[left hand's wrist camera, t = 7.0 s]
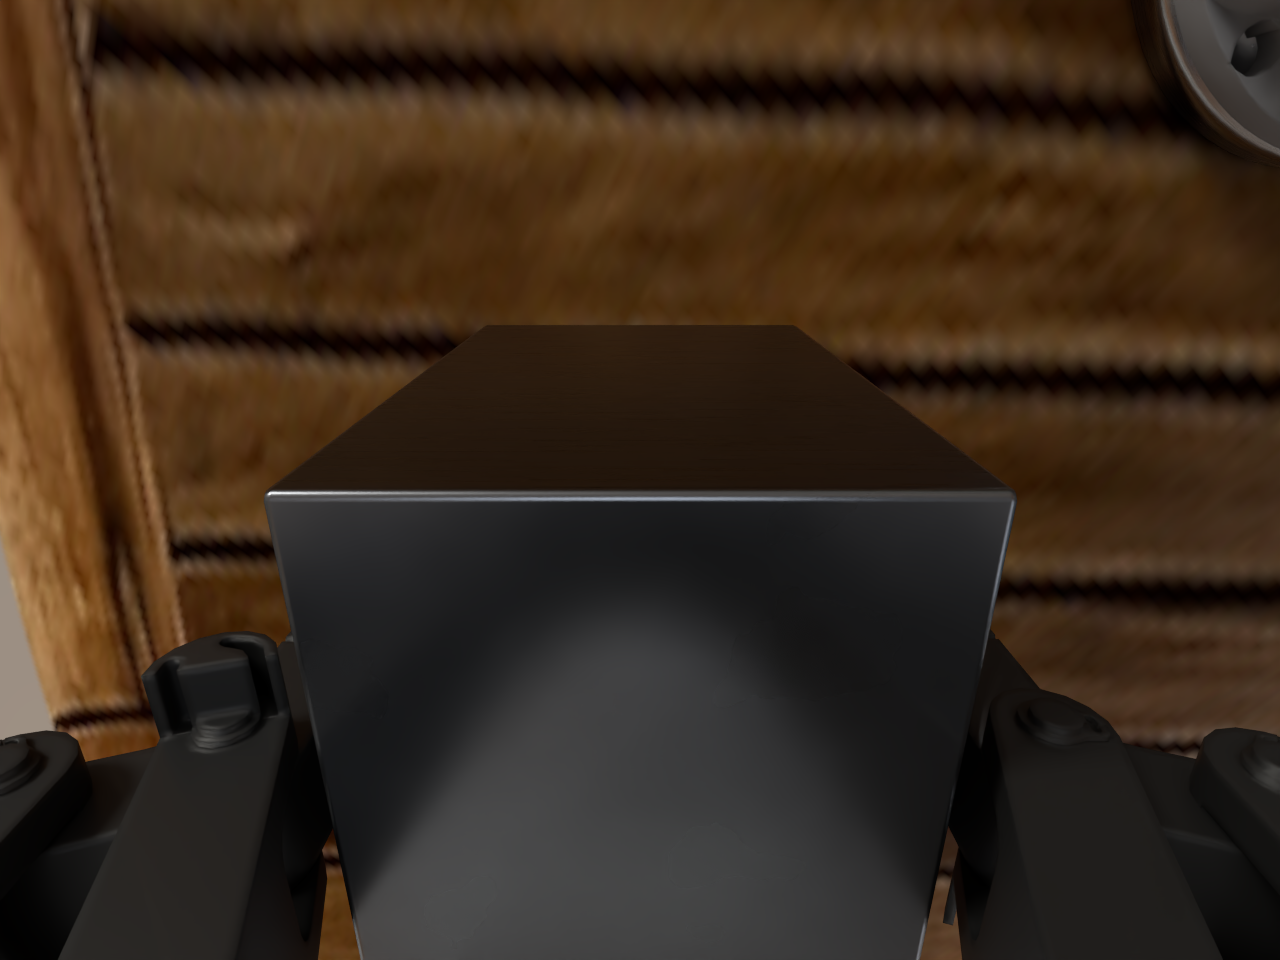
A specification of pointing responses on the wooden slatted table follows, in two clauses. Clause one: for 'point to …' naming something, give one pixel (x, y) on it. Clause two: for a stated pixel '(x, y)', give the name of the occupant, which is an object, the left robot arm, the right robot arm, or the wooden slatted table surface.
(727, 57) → the wooden slatted table surface
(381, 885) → the box
